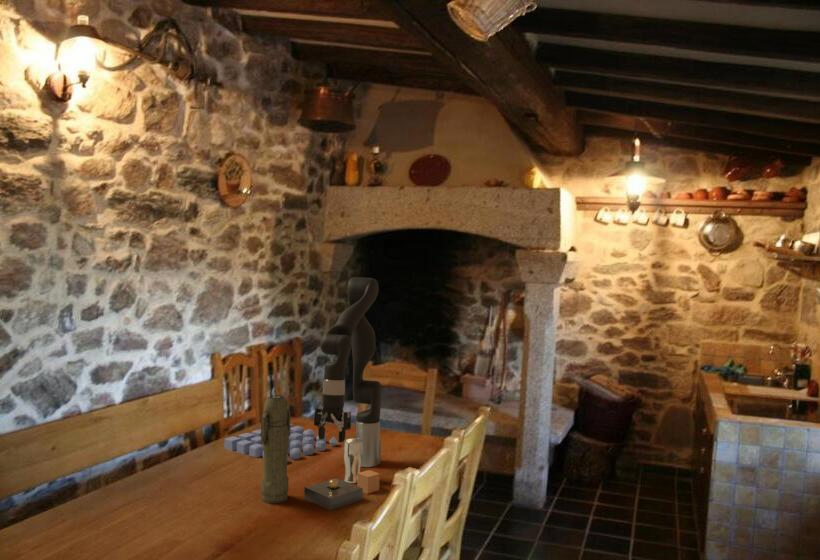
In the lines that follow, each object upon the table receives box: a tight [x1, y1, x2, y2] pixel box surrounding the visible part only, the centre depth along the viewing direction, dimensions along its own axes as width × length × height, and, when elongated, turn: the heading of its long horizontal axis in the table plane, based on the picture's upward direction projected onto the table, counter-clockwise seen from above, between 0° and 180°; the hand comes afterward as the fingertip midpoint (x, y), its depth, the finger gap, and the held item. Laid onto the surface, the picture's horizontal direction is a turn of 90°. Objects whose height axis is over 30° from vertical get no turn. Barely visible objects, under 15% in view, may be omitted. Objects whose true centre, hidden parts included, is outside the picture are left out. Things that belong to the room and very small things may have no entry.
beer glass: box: [343, 437, 363, 484], centre depth 257 cm, size 7×7×15 cm
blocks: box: [224, 423, 339, 463], centre depth 296 cm, size 35×34×5 cm
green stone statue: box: [260, 394, 291, 504], centre depth 236 cm, size 9×12×35 cm
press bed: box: [303, 477, 364, 511], centre depth 238 cm, size 14×14×4 cm
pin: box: [328, 478, 338, 490], centre depth 238 cm, size 3×3×4 cm
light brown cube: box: [356, 469, 381, 494], centre depth 248 cm, size 6×6×6 cm
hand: (331, 440), depth 238 cm, fingers open, 8 cm apart
